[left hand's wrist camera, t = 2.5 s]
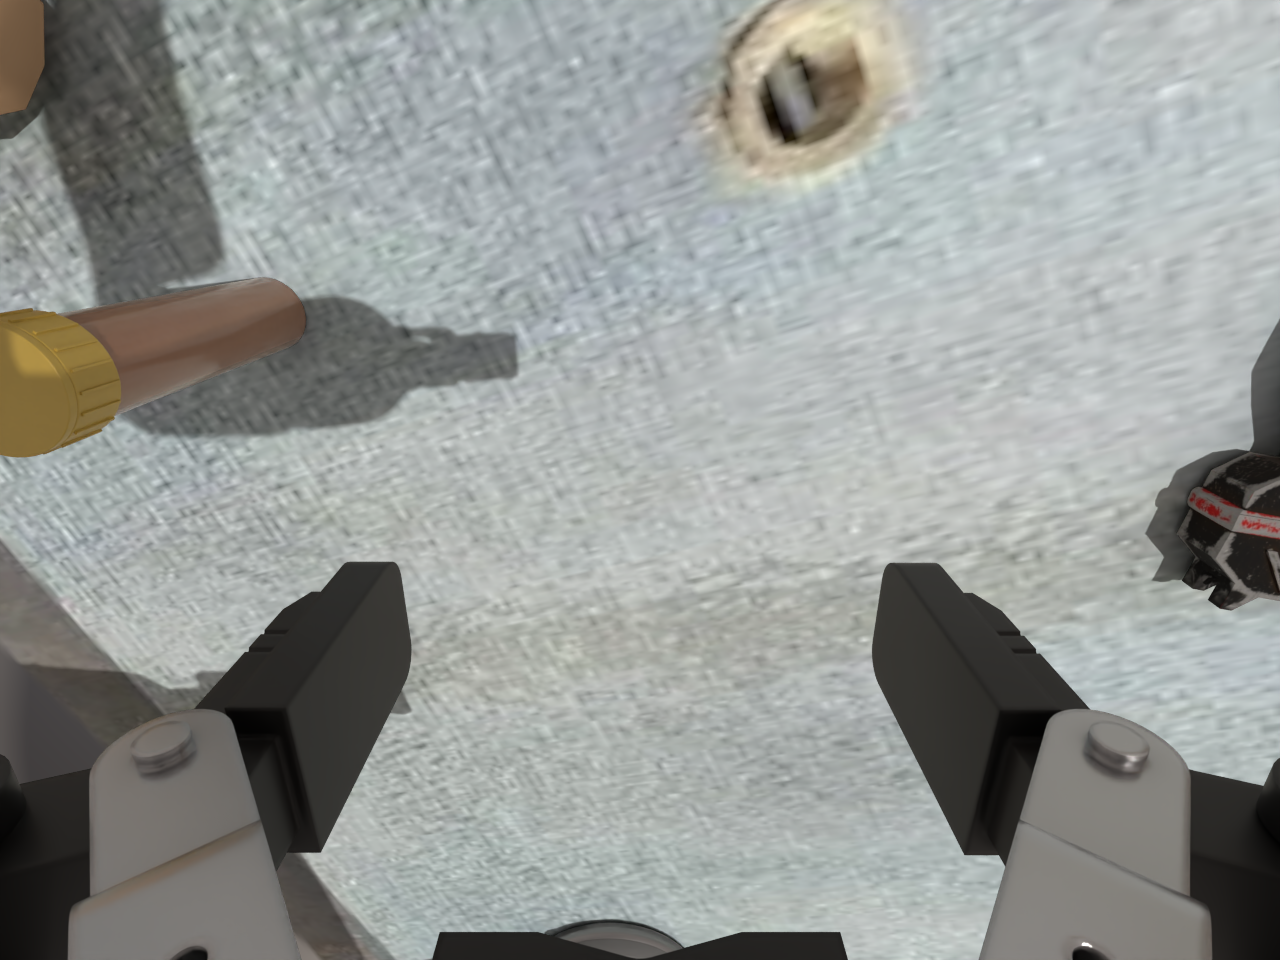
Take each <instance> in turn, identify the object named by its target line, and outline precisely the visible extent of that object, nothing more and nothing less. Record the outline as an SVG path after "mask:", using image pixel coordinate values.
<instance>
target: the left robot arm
mask: <svg viewBox="0 0 1280 960" xmlns="http://www.w3.org/2000/svg"><path fill="white" fill-rule="evenodd" d="M872 659H873V667H874V672H875V676H876V679H877V682H878V684H879V686H880V688H881V690H882V692H883V694H884V696H885V698H886V700H887V702H888V704H889V706H890V708H891V710H892V712H893V714H894V716H895V718H896V720H897V722H898V724H899V726H900V728H901V730H902V732H903V734H904V736H905V738H906V740H907V742H908V744H909V746H910V748H911V750H912V752H913V754H914V756H915V758H916V760H917V761H918V763H919V765H920V767H921V769H922V771H923V773H924V775H925V777H926V779H927V781H928V783H929V785H930V787H931V789H932V791H933V793H934V795H935V797H936V799H937V801H938V803H939V805H940V807H941V809H942V811H943V813H944V815H945V817H946V819H947V821H948V823H949V825H950V827H951V829H952V831H953V833H954V835H955V837H956V839H957V841H958V843H959V845H960V847H961V849H962V851H963V853H964V855H999V856H1000V858H1001V860H1002V861H1003V863H1004V865H1005V870H1004V874H1003V877H1002V881H1001V884H1000V888H999V891H998V894H997V898H996V901H995V905H994V908H993V912H992V915H991V919H990V922H989V926H988V929H987V933H986V936H985V940H984V943H983V946H982V950H981V953H980V957H979V960H1280V758H1279V759H1278V760H1277V761H1276V762H1275V763H1274V764H1273V766H1272V769H1271V771H1270V773H1269V775H1268V778H1267V780H1266V782H1265V784H1264V786H1261V785H1257V784H1252V783H1247V782H1243V781H1238V780H1234V779H1229V778H1225V777H1220V776H1216V775H1211V774H1206V773H1202V772H1197V771H1193V770H1189V769H1188V767H1187V764H1186V763H1185V761H1184V760H1183V758H1182V757H1181V756H1180V755H1179V754H1178V752H1177V751H1176V750H1175V749H1174V748H1173V747H1172V746H1170V745H1169V744H1168V743H1167V742H1166V741H1165V740H1163V739H1162V738H1160V737H1159V736H1157V735H1156V734H1155V733H1153V732H1151V731H1149V730H1148V729H1146V728H1144V727H1142V726H1140V725H1138V724H1136V723H1134V722H1132V721H1130V720H1127V719H1125V718H1122V717H1119V716H1116V715H1113V714H1110V713H1106V712H1101V711H1096V710H1090V709H1089V708H1088V706H1087V705H1086V704H1085V703H1084V702H1083V701H1082V700H1081V699H1080V698H1079V696H1078V695H1077V694H1076V693H1075V692H1074V691H1073V690H1072V689H1071V688H1070V686H1069V685H1068V684H1067V683H1066V682H1065V681H1064V680H1063V679H1062V678H1061V676H1060V675H1059V674H1058V673H1057V672H1056V671H1055V670H1054V669H1053V668H1052V666H1051V665H1050V664H1049V663H1048V662H1047V661H1046V660H1045V659H1044V658H1043V656H1042V655H1041V654H1037V653H1036V649H1035V648H1034V646H1033V645H1032V644H1031V643H1030V642H1029V641H1028V640H1027V639H1026V638H1025V636H1021V635H1020V631H1019V630H1018V629H1017V628H1016V626H1015V625H1014V624H1013V623H1012V622H1011V621H1010V620H1009V619H1008V618H1007V616H1006V615H1005V614H1004V613H1003V612H1002V611H1001V610H999V609H998V608H996V607H994V606H993V605H991V604H990V603H988V602H986V601H985V600H983V599H981V598H980V597H978V596H977V595H975V594H973V593H963V592H962V591H961V589H960V588H959V587H958V586H957V585H956V583H955V582H954V581H953V580H952V579H951V577H950V576H949V575H948V574H947V573H946V572H945V570H944V569H943V568H942V567H941V566H940V565H939V564H937V563H889V564H888V565H887V566H886V568H885V570H884V573H883V577H882V584H881V590H880V597H879V603H878V610H877V617H876V623H875V630H874V636H873V644H872ZM410 662H411V638H410V632H409V625H408V618H407V612H406V605H405V598H404V592H403V585H402V578H401V573H400V570H399V567H398V565H397V564H396V563H395V562H347V563H345V564H344V565H343V566H342V567H341V568H340V569H339V571H338V572H337V573H336V574H335V575H334V577H333V578H332V579H331V580H330V581H329V583H328V584H327V585H326V586H325V587H324V588H323V590H322V591H321V592H310V593H309V594H307V595H306V596H304V597H302V598H301V599H299V600H298V601H296V602H294V603H293V604H291V605H289V606H288V607H286V608H285V609H283V610H282V611H281V612H280V613H279V614H278V616H277V617H276V618H275V619H274V620H273V621H272V622H271V623H270V625H269V626H268V627H267V628H266V629H265V633H264V634H261V635H260V636H259V637H258V638H257V639H256V640H255V641H254V643H253V644H252V645H251V646H250V647H249V652H245V653H244V654H243V655H242V656H241V657H240V658H239V659H238V660H237V662H236V663H235V664H234V665H233V666H232V667H231V668H230V669H229V671H228V672H227V673H226V674H225V675H224V676H223V677H222V678H221V680H220V681H219V682H218V683H217V684H216V685H215V686H214V687H213V689H212V690H211V691H210V692H209V693H208V694H207V695H206V696H205V697H204V699H203V700H202V701H201V702H200V703H199V704H198V705H197V706H196V708H195V709H191V710H184V711H179V712H174V713H170V714H167V715H164V716H161V717H158V718H155V719H153V720H150V721H148V722H146V723H144V724H142V725H140V726H138V727H136V728H134V729H132V730H131V731H129V732H127V733H125V734H124V735H123V736H121V737H120V738H118V739H117V740H115V741H114V742H113V743H112V744H111V745H110V746H108V747H107V748H106V749H105V750H104V751H103V752H102V754H101V755H100V756H99V757H98V758H97V760H96V761H95V763H94V765H93V767H92V768H91V769H87V770H82V771H78V772H73V773H69V774H64V775H60V776H55V777H51V778H46V779H41V780H37V781H32V782H28V783H23V784H19V782H18V780H17V778H16V776H15V774H14V771H13V769H12V767H11V764H10V762H9V760H8V759H7V758H6V757H5V756H3V755H0V960H301V957H300V953H299V950H298V947H297V943H296V940H295V936H294V933H293V929H292V926H291V922H290V919H289V915H288V912H287V908H286V905H285V901H284V898H283V894H282V891H281V888H280V884H279V881H278V877H277V874H276V871H277V869H278V867H279V865H280V864H281V862H282V860H283V858H284V856H285V855H286V853H321V851H322V849H323V847H324V845H325V843H326V841H327V839H328V837H329V835H330V833H331V831H332V829H333V827H334V825H335V823H336V821H337V819H338V817H339V815H340V813H341V811H342V809H343V807H344V805H345V803H346V801H347V799H348V796H349V794H350V792H351V790H352V788H353V786H354V784H355V782H356V780H357V778H358V776H359V774H360V772H361V770H362V768H363V766H364V764H365V762H366V760H367V758H368V756H369V754H370V752H371V750H372V748H373V746H374V744H375V742H376V740H377V738H378V736H379V734H380V732H381V730H382V728H383V726H384V724H385V722H386V720H387V718H388V716H389V714H390V712H391V710H392V708H393V706H394V704H395V702H396V700H397V698H398V696H399V694H400V692H401V690H402V688H403V686H404V684H405V681H406V679H407V676H408V673H409V668H410ZM432 960H848V959H847V955H846V951H845V948H844V944H843V941H842V937H841V933H840V932H741V933H737V934H733V935H730V936H726V937H722V938H719V939H715V940H712V941H708V942H704V943H701V944H697V945H693V946H690V947H686V948H683V949H679V950H675V951H672V952H668V953H664V954H661V955H657V956H654V957H649V958H644V959H636V958H631V957H626V956H623V955H619V954H616V953H612V952H608V951H605V950H601V949H597V948H594V947H590V946H587V945H583V944H579V943H576V942H572V941H568V940H565V939H561V938H558V937H554V936H550V935H547V934H543V933H539V932H440V933H439V937H438V941H437V944H436V948H435V951H434V955H433V959H432Z"/></svg>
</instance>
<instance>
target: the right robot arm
mask: <svg viewBox="0 0 1280 960" xmlns="http://www.w3.org/2000/svg"><path fill="white" fill-rule="evenodd" d="M554 937H558V938H561V939H565V940H568V941H572V942H576V943H579V944H583V945H587V946H590V947H594V948H597V949H601V950H605V951H608V952H612V953H616V954H619V955H623V956H626V957H631V958H636V959H644V958H649V957H654V956H657V955H661V954H664V953H668V952H672V951H675V950H679V949H683V948H682V947H681V946H680V945H679V944H677V943H676V942H675V941H673V940H672V939H670V938H668V937H667V936H665V935H663V934H661V933H659V932H656V931H654V930H651V929H648V928H645V927H641V926H636V925H631V924H624V923H595V924H588V925H583V926H578V927H575V928H571V929H568V930H566V931H563V932H561V933H559V934H557V935H555V936H554Z"/></svg>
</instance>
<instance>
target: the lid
mask: <svg viewBox="0 0 1280 960" xmlns="http://www.w3.org/2000/svg"><path fill="white" fill-rule="evenodd" d="M120 403H121V382H120V378H119V375H118V371H117V369H116V366H115V364H114V362H113V360H112V358H111V357H110V355H109V353H108V352H107V351H106V349H105V348H104V346H103V345H102V344H101V343H100V342H99V341H98V340H97V339H96V338H95V337H94V336H93V335H92V334H91V333H90V332H89V331H87V330H86V329H85V328H83V327H82V326H80V325H79V324H78V323H77V322H74V321H72V320H70V319H68V318H65V317H63V316H60V315H57V314H56V313H55V312H46V311H37V310H34V311H33V309H32V308H28V309H22V310H16V311H10V312H4V313H0V455H4V456H9V457H31V456H37V455H40V454H47V453H49V452H51V451H54V450H56V449H59V448H61V447H62V448H63V447H66V446H68V445H70V444H73V443H75V442H78V441H80V440H82V439H85V438H87V437H90V436H92V435H95V434H97V433H99V432H101V431H102V430H101V429H102V428H103V427H105V426H106V425H107V424H108V423H109V422H110V421H112V420H114V419H115V418H114V416H115V414H116V412H117V410H118V408H119V404H120Z"/></svg>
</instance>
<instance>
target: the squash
mask: <svg viewBox="0 0 1280 960" xmlns="http://www.w3.org/2000/svg"><path fill="white" fill-rule="evenodd" d="M44 66H45V63H44V4H43V3H42V2H41V1H40V0H0V115H2V114H7V113H11V112H16V111H20V110H25V109H26V108H27V105H28V103H29V101H30V98H31V96H32V94H33V91H34V89H35V87H36V84H37V82H38V80H39V77H40V75H41V73H42V70H43V68H44Z"/></svg>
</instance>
